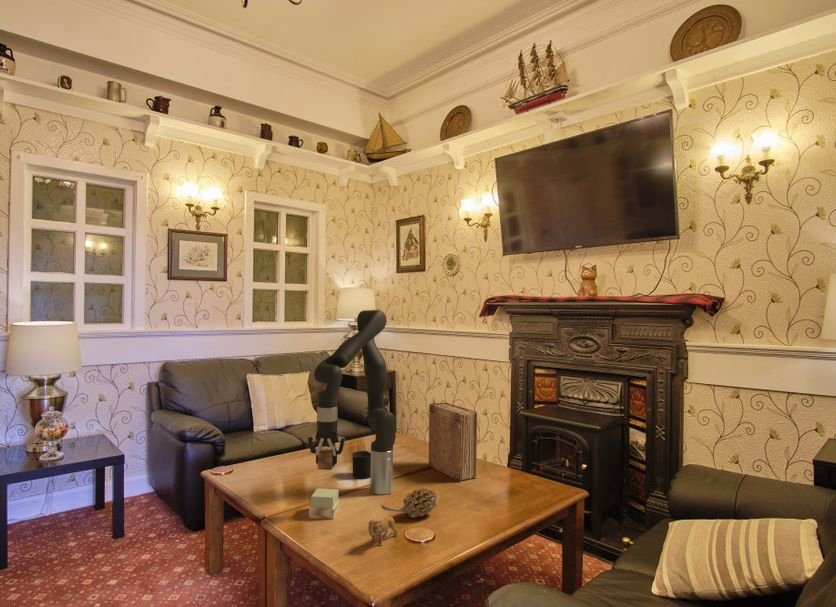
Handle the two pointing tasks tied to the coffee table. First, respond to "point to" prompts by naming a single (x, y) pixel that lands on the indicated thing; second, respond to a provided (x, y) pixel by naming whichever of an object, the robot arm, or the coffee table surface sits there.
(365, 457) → the pen holder
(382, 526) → the lion figurine
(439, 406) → the book
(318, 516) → the block
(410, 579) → the coffee table surface
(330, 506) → the tower top
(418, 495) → the pine cone
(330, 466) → the walnut block
